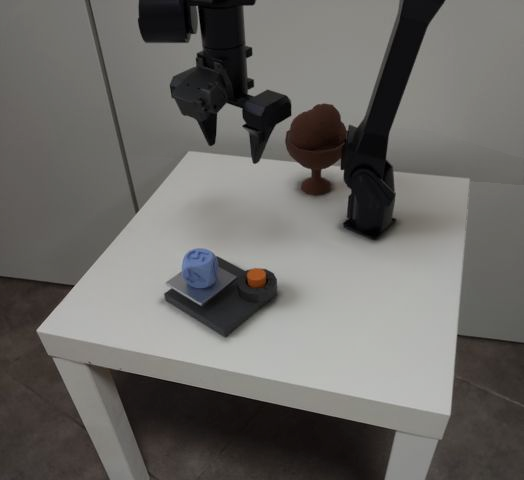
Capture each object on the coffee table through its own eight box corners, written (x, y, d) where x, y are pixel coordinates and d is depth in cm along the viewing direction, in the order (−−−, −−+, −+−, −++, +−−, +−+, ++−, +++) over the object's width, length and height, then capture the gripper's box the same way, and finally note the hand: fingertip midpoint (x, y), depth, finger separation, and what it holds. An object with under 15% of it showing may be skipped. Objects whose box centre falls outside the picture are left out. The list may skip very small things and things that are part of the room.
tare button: (269, 281, 77) (269, 273, 75) (257, 291, 75) (257, 282, 74) (256, 274, 78) (255, 265, 77) (244, 283, 77) (243, 275, 75)
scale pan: (237, 278, 77) (237, 276, 76) (201, 306, 73) (201, 304, 73) (201, 259, 80) (201, 257, 80) (165, 284, 77) (165, 282, 76)
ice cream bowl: (345, 171, 101) (351, 88, 90) (345, 205, 93) (352, 119, 82) (288, 170, 102) (287, 88, 91) (284, 203, 94) (282, 118, 83)
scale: (284, 294, 79) (284, 278, 76) (229, 340, 73) (227, 324, 71) (221, 260, 85) (219, 244, 82) (165, 300, 79) (161, 285, 77)
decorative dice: (211, 290, 75) (208, 267, 72) (184, 287, 75) (179, 264, 72) (219, 271, 77) (216, 249, 74) (192, 269, 78) (188, 246, 75)
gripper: (130, 46, 72) (153, 157, 83) (234, 78, 63) (243, 197, 74) (191, 22, 77) (204, 129, 89) (293, 49, 68) (294, 163, 80)
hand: (233, 153), depth 83 cm, fingers open, 9 cm apart
